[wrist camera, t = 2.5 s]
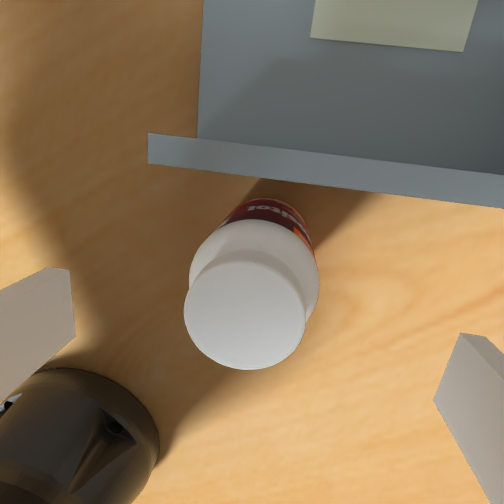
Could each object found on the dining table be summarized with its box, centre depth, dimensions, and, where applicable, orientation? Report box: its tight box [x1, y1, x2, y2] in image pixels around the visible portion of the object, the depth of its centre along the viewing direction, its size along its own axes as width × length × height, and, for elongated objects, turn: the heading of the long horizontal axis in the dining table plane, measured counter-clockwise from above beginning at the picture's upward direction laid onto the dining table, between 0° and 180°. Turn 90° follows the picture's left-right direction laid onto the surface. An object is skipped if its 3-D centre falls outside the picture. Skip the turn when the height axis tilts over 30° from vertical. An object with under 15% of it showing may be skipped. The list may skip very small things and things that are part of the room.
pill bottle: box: [184, 198, 319, 370], centre depth 17 cm, size 6×6×11 cm
